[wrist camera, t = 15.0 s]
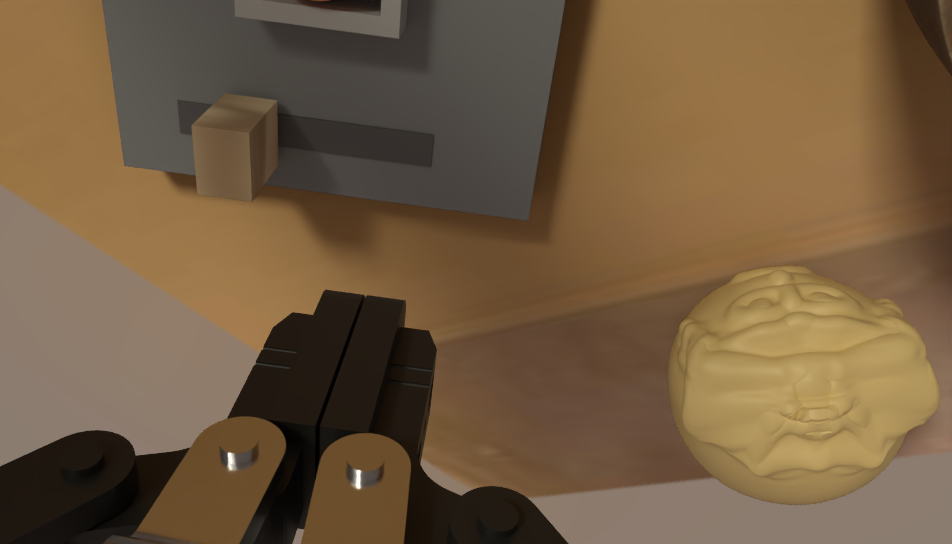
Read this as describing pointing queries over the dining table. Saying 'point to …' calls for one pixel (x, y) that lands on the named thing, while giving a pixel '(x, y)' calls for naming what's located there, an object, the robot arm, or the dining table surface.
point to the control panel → (349, 91)
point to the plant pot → (935, 26)
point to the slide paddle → (235, 147)
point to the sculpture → (797, 385)
